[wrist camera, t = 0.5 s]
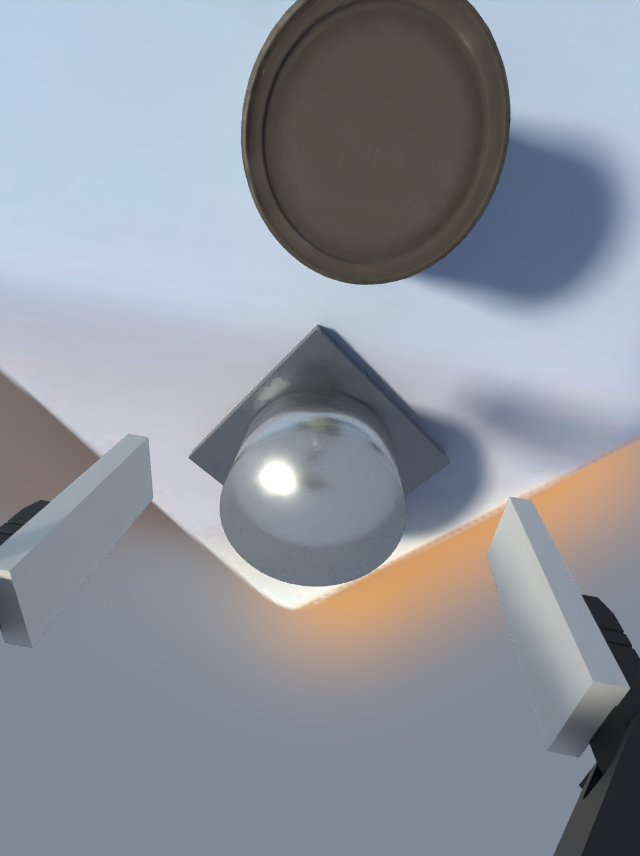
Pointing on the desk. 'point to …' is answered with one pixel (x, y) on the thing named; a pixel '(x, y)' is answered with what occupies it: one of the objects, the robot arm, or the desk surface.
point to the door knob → (316, 468)
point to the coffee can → (375, 133)
